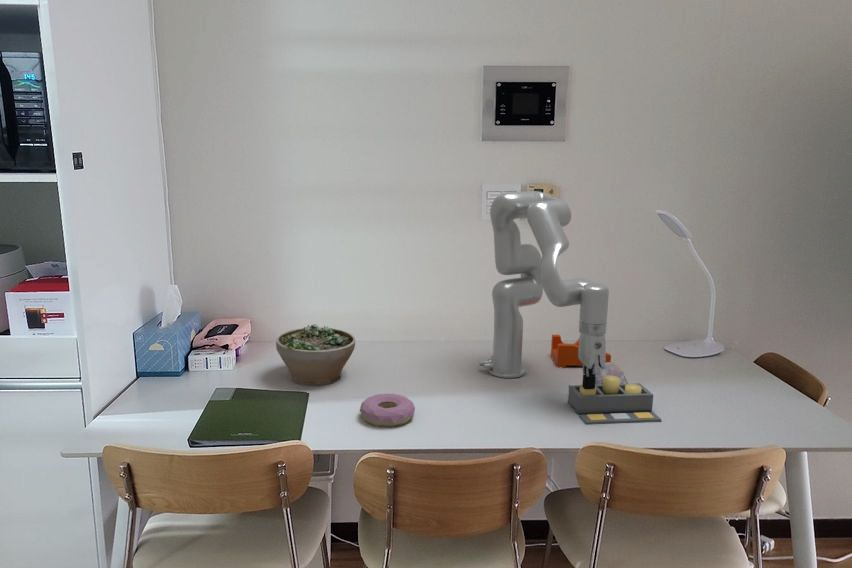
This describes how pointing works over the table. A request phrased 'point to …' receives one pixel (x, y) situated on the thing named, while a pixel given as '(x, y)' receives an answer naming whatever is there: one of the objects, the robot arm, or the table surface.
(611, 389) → the button mid
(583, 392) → the button left
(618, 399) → the grey compartment tray
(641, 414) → the strip
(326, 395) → the table surface
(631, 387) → the button right
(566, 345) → the tape dispenser
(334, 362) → the planter
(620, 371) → the stone
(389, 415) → the donut
